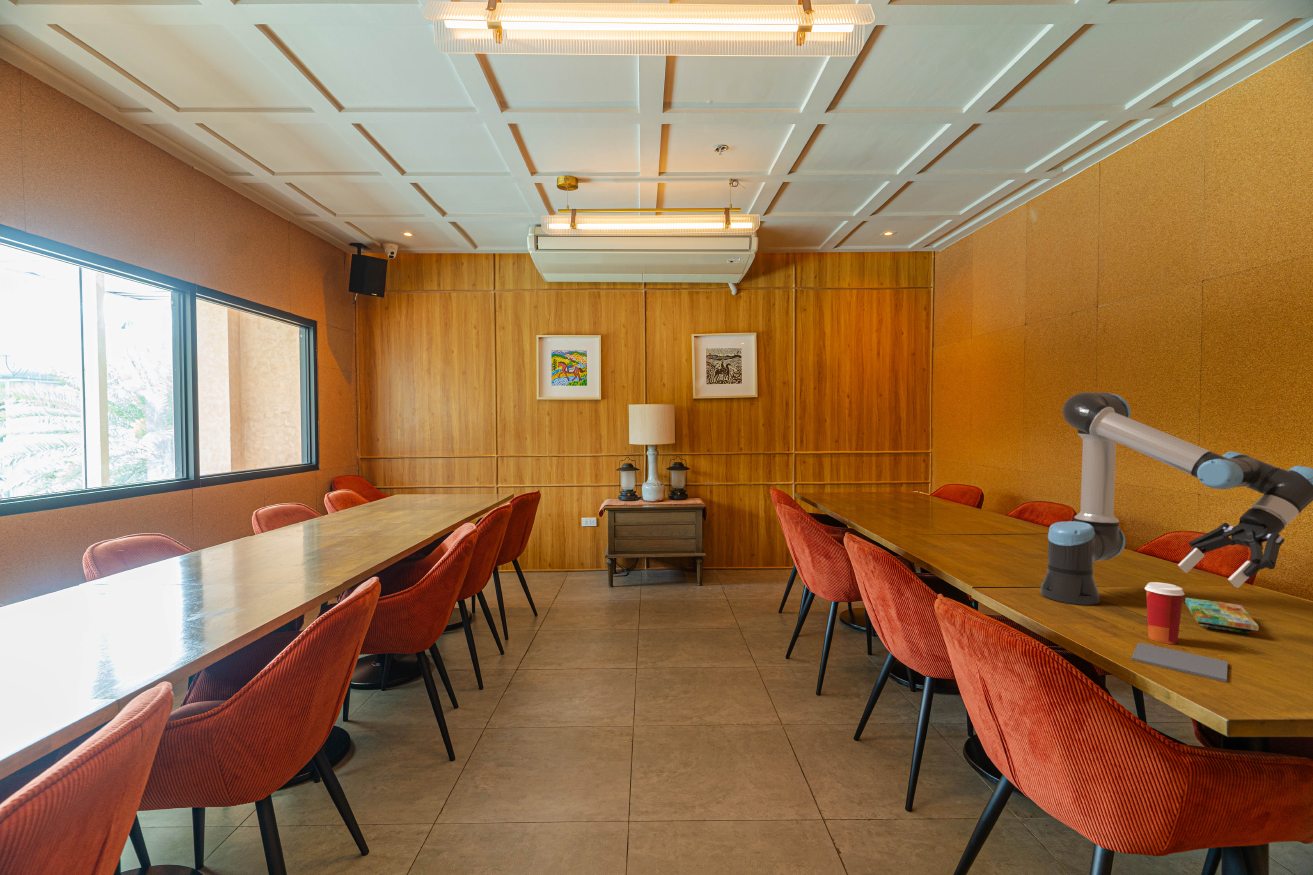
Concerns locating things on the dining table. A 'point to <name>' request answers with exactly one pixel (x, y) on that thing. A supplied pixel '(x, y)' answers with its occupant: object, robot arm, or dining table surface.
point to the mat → (1181, 661)
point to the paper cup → (1163, 611)
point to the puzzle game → (1221, 615)
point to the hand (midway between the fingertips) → (1206, 575)
